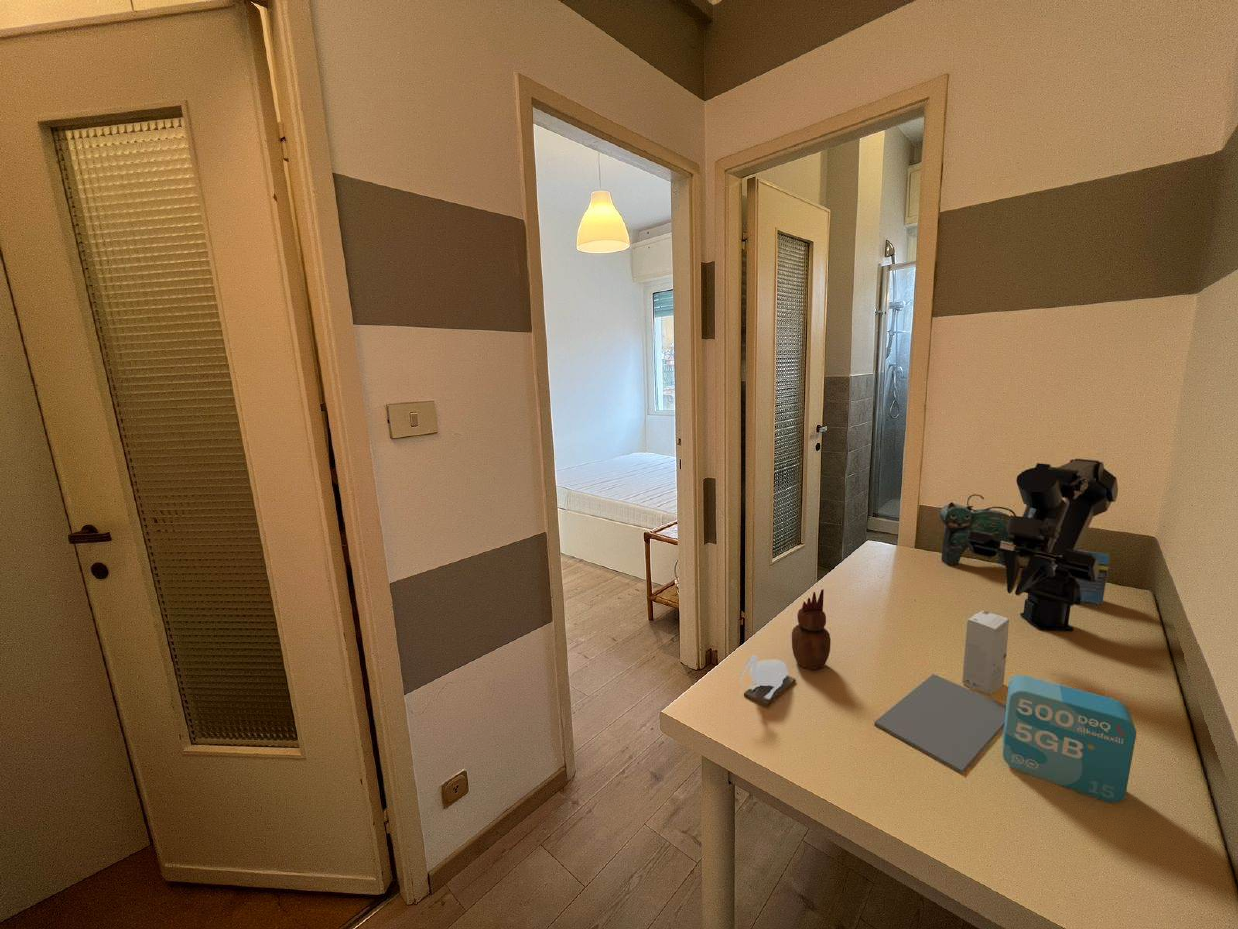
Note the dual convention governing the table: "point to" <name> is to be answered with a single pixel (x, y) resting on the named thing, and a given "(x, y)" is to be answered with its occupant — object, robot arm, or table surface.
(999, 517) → the ceramic cat
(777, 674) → the figurine
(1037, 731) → the data package
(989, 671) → the skincare box
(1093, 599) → the label tape box
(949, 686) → the mat
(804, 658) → the wooden figurine
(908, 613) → the table surface
